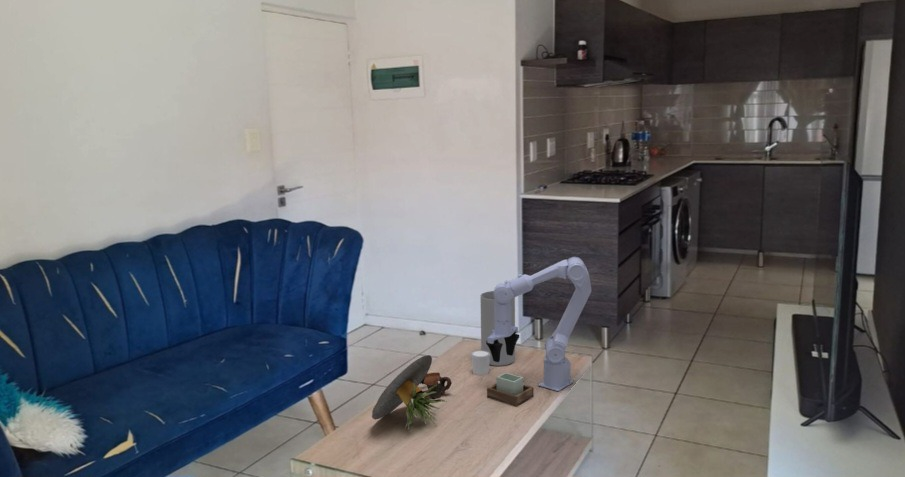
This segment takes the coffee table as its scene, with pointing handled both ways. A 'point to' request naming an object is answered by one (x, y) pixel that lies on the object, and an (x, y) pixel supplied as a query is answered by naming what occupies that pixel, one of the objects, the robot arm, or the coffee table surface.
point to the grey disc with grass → (408, 393)
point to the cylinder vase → (488, 326)
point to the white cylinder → (480, 362)
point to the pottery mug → (433, 380)
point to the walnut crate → (508, 398)
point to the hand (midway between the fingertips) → (503, 358)
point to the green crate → (510, 384)
